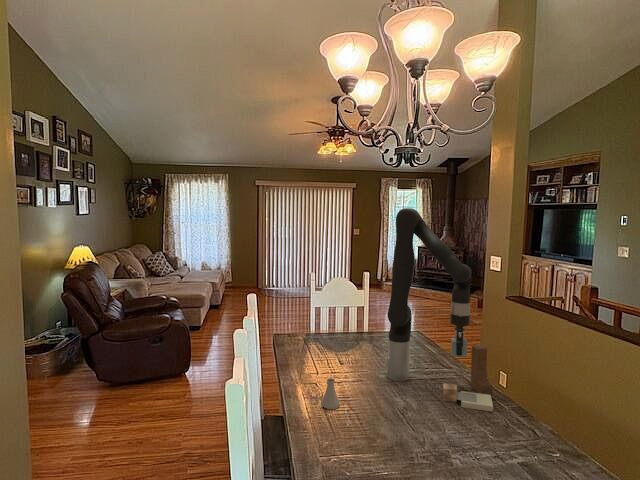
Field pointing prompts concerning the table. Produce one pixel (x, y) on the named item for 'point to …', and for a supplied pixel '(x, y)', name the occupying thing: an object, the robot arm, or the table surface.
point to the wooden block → (480, 370)
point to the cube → (464, 348)
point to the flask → (330, 396)
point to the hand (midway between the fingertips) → (458, 352)
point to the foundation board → (475, 401)
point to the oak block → (450, 392)
